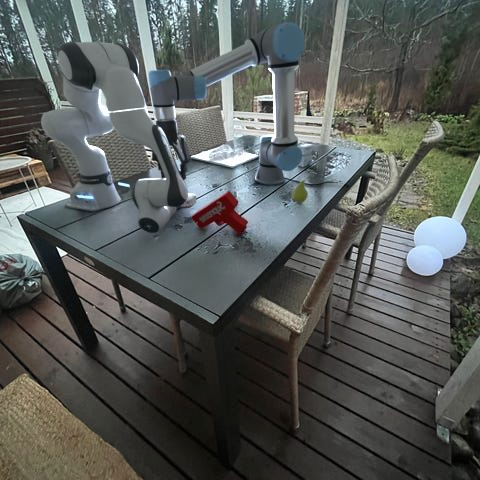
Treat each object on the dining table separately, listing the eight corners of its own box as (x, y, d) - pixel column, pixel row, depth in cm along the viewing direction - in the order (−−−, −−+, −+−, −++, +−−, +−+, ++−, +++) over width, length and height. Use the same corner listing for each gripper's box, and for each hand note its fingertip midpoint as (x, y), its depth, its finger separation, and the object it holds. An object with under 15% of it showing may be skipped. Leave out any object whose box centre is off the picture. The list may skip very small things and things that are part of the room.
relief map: (232, 167, 162) (232, 159, 160) (191, 158, 180) (190, 150, 177) (257, 157, 181) (258, 149, 178) (218, 149, 198) (217, 142, 196)
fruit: (288, 200, 123) (290, 174, 116) (302, 197, 125) (305, 172, 119) (296, 206, 118) (299, 179, 111) (310, 203, 120) (314, 177, 114)
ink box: (304, 162, 171) (306, 143, 164) (310, 164, 168) (313, 144, 161) (296, 165, 166) (298, 145, 159) (302, 167, 163) (305, 147, 156)
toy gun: (254, 223, 98) (229, 189, 94) (251, 228, 95) (225, 194, 91) (219, 242, 108) (195, 212, 104) (215, 247, 105) (190, 217, 101)
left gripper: (190, 199, 102) (199, 186, 113) (138, 197, 104) (153, 183, 116) (192, 214, 105) (201, 199, 117) (142, 211, 108) (155, 197, 119)
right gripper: (196, 118, 101) (201, 177, 113) (145, 116, 105) (155, 173, 117) (188, 122, 95) (194, 183, 107) (134, 120, 99) (146, 179, 111)
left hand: (176, 191), depth 116 cm, fingers closed on jar, 5 cm apart
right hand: (174, 178), depth 112 cm, fingers open, 8 cm apart
